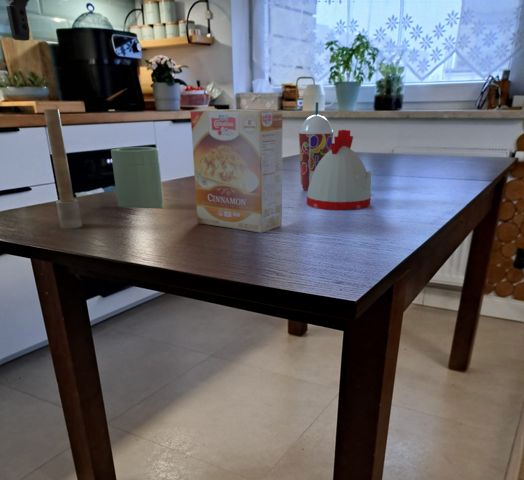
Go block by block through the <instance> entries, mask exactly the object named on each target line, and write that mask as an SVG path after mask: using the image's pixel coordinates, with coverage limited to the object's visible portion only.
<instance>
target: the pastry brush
mask: <svg viewBox="0 0 524 480" xmlns="http://www.w3.org/2000/svg"><path fill="white" fill-rule="evenodd" d="M43 113H44V118H45V124H46V131H47V135H48V141H49V147H50V153H51V158H52V162H53V168H54V174H55V180H56V186H57V191H58V197H59V200H56V201H55V204H56V210H57V216H58V220H59V221H58V222H59V227H60V229H65V230H66V229H67V230H68V229H70V230H71V229H77V228H81V227H83V220H82V219H83V218H82V214H81V209H80V203H79V199H77V198H74V193H73V186H72V179H71V174H70V169H69V163H68V156H67V151H66V150H67V149H66V144H65V140H64V132H63V125H62V119H61V115H60V110H59V108H46V109H43Z"/></svg>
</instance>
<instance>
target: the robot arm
mask: <svg viewBox="0 0 524 480" xmlns="http://www.w3.org/2000/svg"><path fill="white" fill-rule="evenodd" d="M4 1H5V2H6V4H7V5H6V6H5V7H6V12H7V19H8V23H9V28H10V34H11V37H12V39H13V40H15V41H23V42H26V41H29V40H30V38H31V37H30V36H31V35H30V31H31V30H30V26H29V20H28V13H27V8H26V7H28V5H29V4H28V3H29V1H30V0H4Z"/></svg>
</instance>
